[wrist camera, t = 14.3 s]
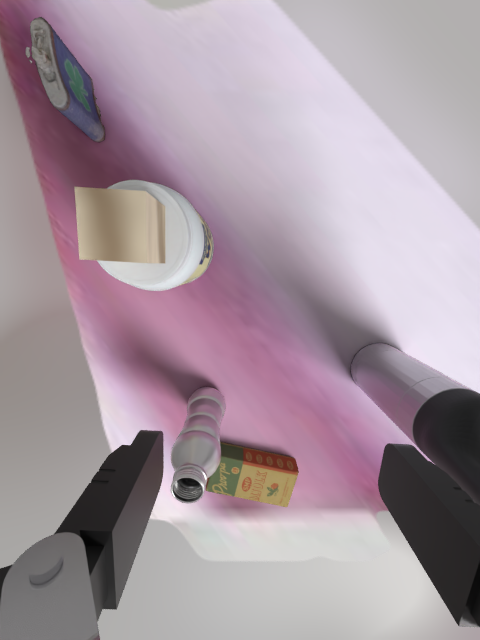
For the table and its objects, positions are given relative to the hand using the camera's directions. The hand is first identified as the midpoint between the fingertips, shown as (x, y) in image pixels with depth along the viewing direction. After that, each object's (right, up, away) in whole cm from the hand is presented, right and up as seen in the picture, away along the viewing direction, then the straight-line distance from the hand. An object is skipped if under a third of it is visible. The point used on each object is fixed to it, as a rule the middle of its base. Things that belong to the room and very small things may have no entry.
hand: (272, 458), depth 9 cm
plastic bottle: (-7, -10, +39) cm, 41 cm away
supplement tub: (-11, +17, +34) cm, 39 cm away
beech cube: (-11, +14, +17) cm, 24 cm away
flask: (-23, +36, +29) cm, 52 cm away
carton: (+1, -24, +43) cm, 49 cm away
